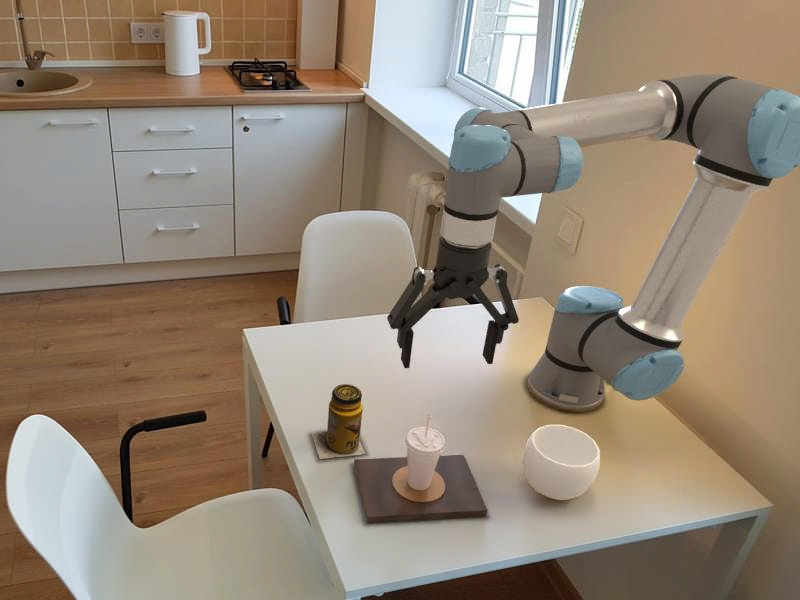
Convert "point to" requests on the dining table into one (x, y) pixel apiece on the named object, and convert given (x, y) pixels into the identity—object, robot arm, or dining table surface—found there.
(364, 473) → the board
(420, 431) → the smoothie
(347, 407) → the condiment
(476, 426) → the dining table surface
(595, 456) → the cup
